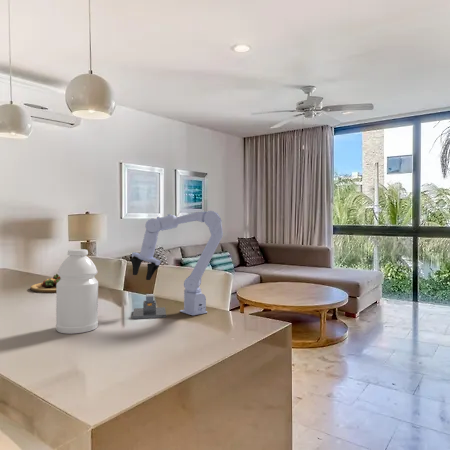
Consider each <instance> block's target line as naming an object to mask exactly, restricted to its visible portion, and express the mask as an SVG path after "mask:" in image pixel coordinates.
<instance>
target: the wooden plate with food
mask: <svg viewBox="0 0 450 450" xmlns="http://www.w3.org/2000/svg"><path fill="white" fill-rule="evenodd" d="M60 279H61V278H60V276H59V275H58V274H57V273H56V274H54V275H53V276H52V277H49V278H47V279H45V280H43V282H38V283H34V284H32V285H31V286H30V290H31V292H36V293H42V294H44V293H46V294H56V284H57V282H59V280H60Z"/></svg>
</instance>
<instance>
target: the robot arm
mask: <svg viewBox="0 0 450 450" xmlns="http://www.w3.org/2000/svg"><path fill="white" fill-rule="evenodd" d="M222 221H223V220H222V218H221V217H220V215H219V213H218V212H216V211H214V210H208V211H196V212H192V213H188V214H183V215H181V216H180V215H179V216H176V215H174V214H171V213H168V214H167V215H165V216H162V217H160V216H157V217H156V218H150V219H148V220H147V221H146V222H145V233H144V235H143V240H142V245H141V249H140V252H136V251H135V252H134V251H133V252H131V258H130V261H131V266H132V275H133V276H138V273H139V271H140V267H141V264H142V263H143V261H144V262H147V264H146V265H147V266H146V267H147V268H146V269H147V271H146V272H147V273H146V277H145V280H146V281H150V280H151V279H152V277H153V275H154V274H155V272H156V271H157V270H158V268H159V267H160V265H161V262H162V261H161V260H160V259H158V258H156V257H154V255H155V251H156V248H157V247H156V246H157V242H158V239H159V238H158V237H159V233H160V231H162V232H163V231H168V230H171V229H176V228H178V226H179V225H181V224H185V223H191V222H200V223H204V224H205V225H206V226H207V228H208V230H209V233H210V237H209V239H208V241H207V242H206V244H205V247H204V248H203V251H202V252H201V254H200V256H199V258H198V260H197V262H196V264H195V265H194V267H193V269H192V270H191V273H190V274H189V275H188V277H186V279H185V280H184V281H183V287H184V290H183V309H180V310H179V312H181V313H183V314H186V315H189V316H190V315H191V316H197V315H202V314H207V313H208V311H207V297H206V296H205V294H204V293H202V289H201V287H200V286H201V284H202V279H203V278H202V277H203V276H204V274H205V272H206V269H207V267H208V265H209V264H210V262H211V260H212V259H213V256H214V254H215V252H216V250H217V248H218V246H219V244H220V242H221V241H222V239H223V237H224V230H223V222H222Z"/></svg>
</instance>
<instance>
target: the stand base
mask: <svg viewBox="0 0 450 450" xmlns="http://www.w3.org/2000/svg"><path fill="white" fill-rule="evenodd" d="M142 305H143V307H140V308H139V307H138V308H135V307H134V308H133V312H132V320H138V319H139V320H141V319H165V318H167V311H166V307H157V300H156V299H155V300H154V299H153V303H146V300H143V304H142Z"/></svg>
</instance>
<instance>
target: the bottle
mask: <svg viewBox="0 0 450 450" xmlns="http://www.w3.org/2000/svg"><path fill="white" fill-rule="evenodd" d="M67 255H68V257H67V258H65V259H64V261H63V262H62V263H61V265H60V266H59V269H58V271H57V273H56V274H58V275H59V276H60V278H61V279H60V280H59V282H57V284H56V293H55V294H56V295H55V296H56V297H55V298H56V299H55V300H56V304H55V305H56V307H55V308H56V309H55V310H56V313H55V315H56V317H55V318H56V321H55V322H56V323H55V330H56V331H57V332H58V333H61V334H70V335H73V334H82V333H88V332H91V331H93V330H95V329H97V328H98V327H99V319H98V318H99V316H98V315H99V310H98V309H99V280H97V278H96V277H95V276H96V275H97V274H98V269H97V266H96V265H95V263H94V262H93V260H92V259H91V258H90V257H88V255H89V251H88V249H84V248H83V249H82V248H81V249H80V248H76V249H75V248H73V249H68V250H67Z"/></svg>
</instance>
